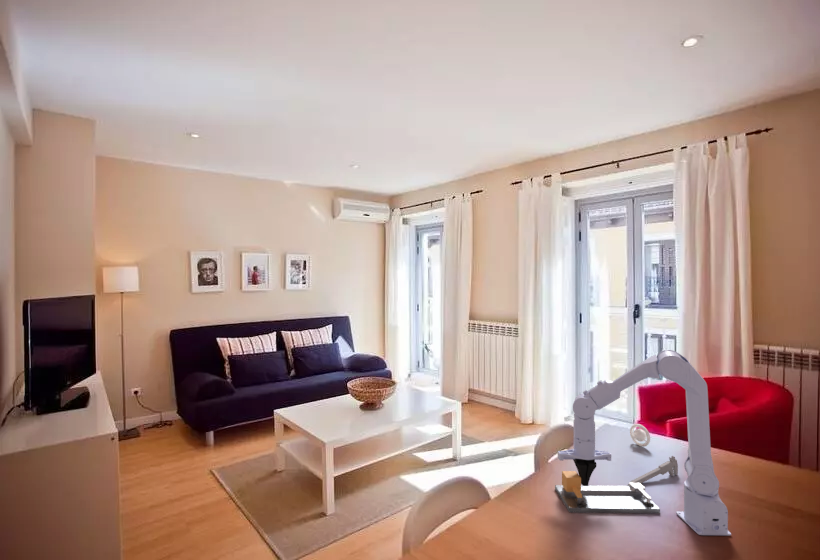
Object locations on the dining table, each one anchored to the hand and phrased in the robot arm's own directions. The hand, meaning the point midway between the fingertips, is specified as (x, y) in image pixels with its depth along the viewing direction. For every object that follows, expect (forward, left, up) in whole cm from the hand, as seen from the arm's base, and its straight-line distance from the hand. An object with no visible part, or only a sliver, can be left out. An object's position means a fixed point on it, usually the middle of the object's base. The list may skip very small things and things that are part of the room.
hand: (584, 484), depth 120 cm
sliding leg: (-2, +4, -2) cm, 5 cm away
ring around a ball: (+35, -33, -4) cm, 48 cm away
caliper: (+10, -25, -4) cm, 27 cm away
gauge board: (-2, -5, -4) cm, 6 cm away
